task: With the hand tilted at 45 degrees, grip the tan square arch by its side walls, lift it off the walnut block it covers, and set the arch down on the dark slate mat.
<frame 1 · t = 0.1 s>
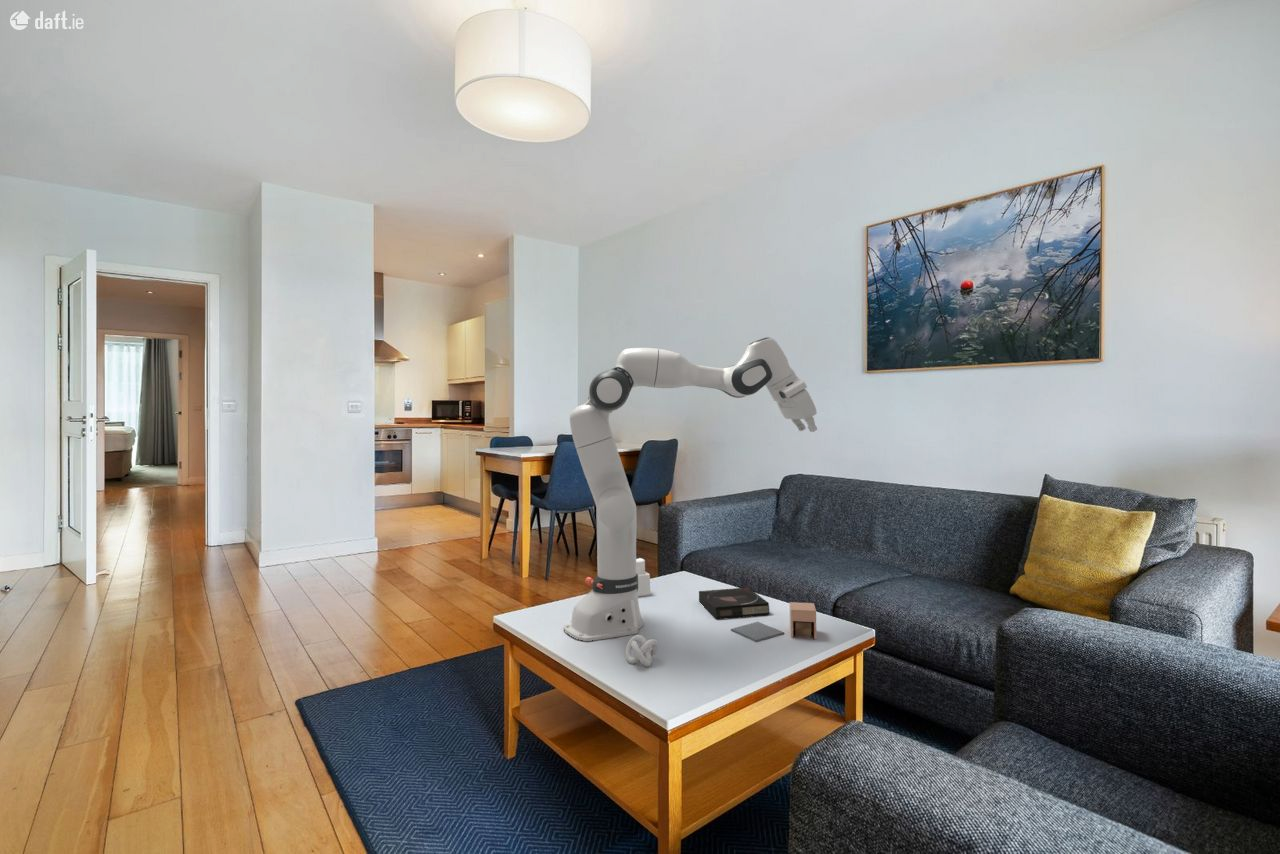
hand: (808, 430, 175), 54 cm above the table, tool tilted 30°, fingers open, 8 cm apart
white block with cylinder: (636, 594, 202), on the table
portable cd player: (733, 610, 185), on the table
slate mat: (757, 632, 165), on the table
walnut block: (802, 627, 163), in the tan square arch
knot: (643, 663, 146), on the table
tan square arch: (802, 634, 163), on the table
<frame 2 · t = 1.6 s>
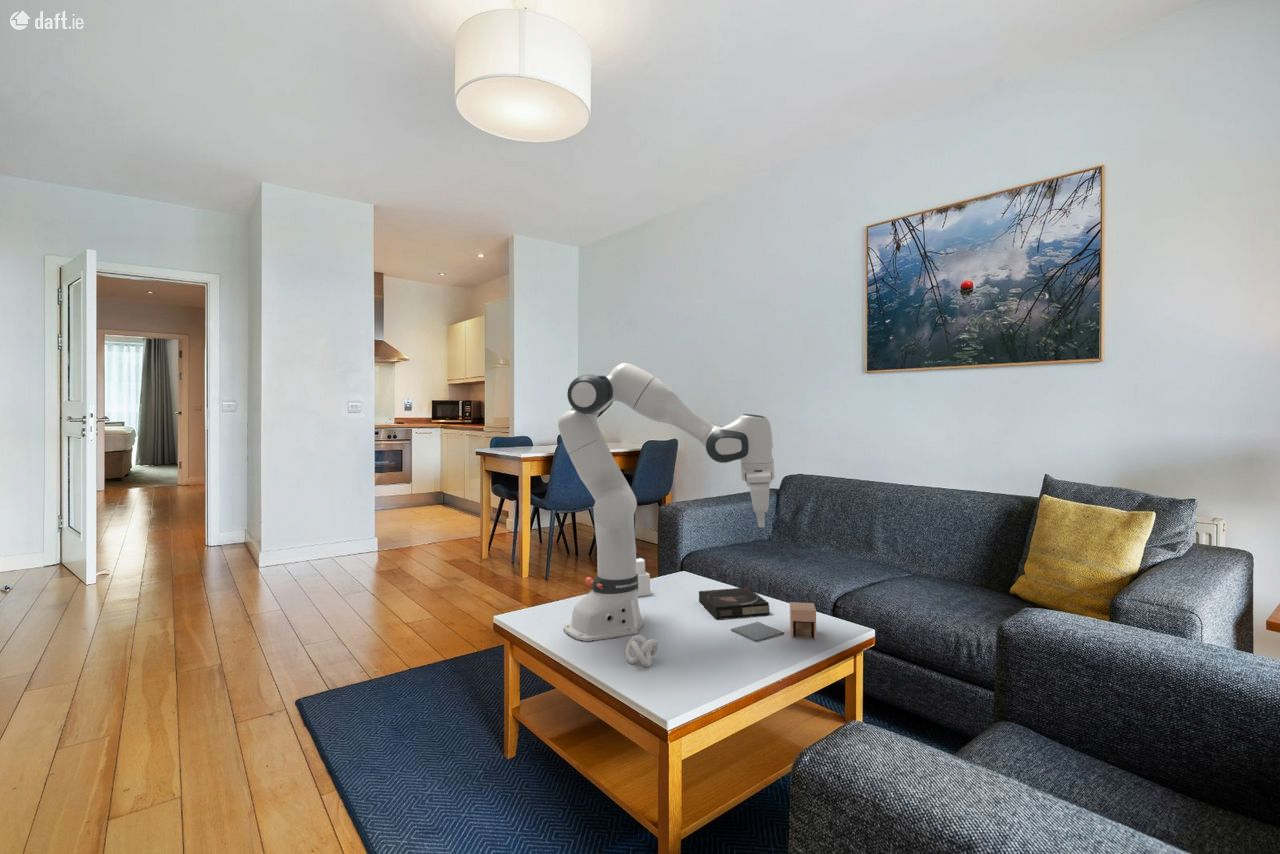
hand: (760, 523, 165), 29 cm above the table, tool pointing down, fingers open, 8 cm apart
nothing on the table moved.
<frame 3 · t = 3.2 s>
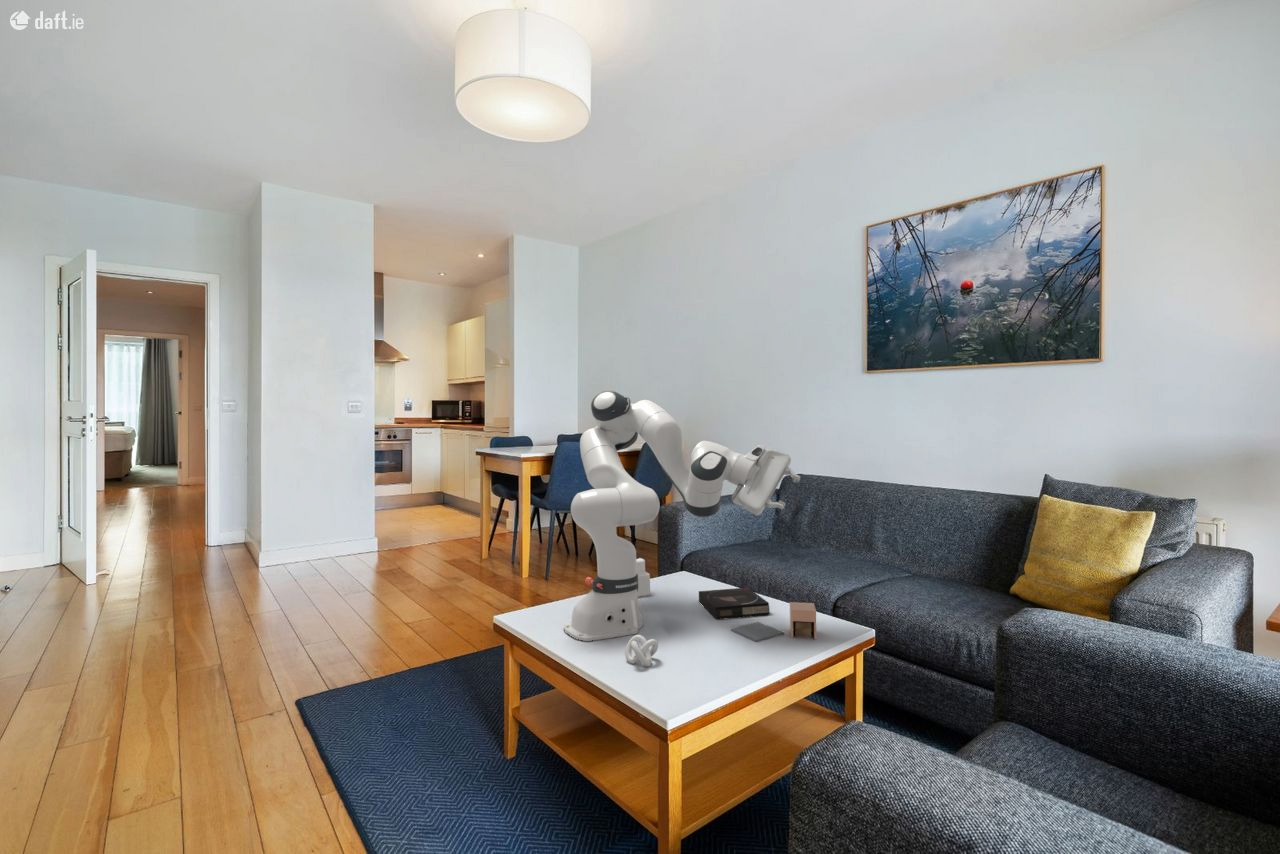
hand: (791, 493, 166), 38 cm above the table, tool tilted 70°, fingers open, 8 cm apart
nothing on the table moved.
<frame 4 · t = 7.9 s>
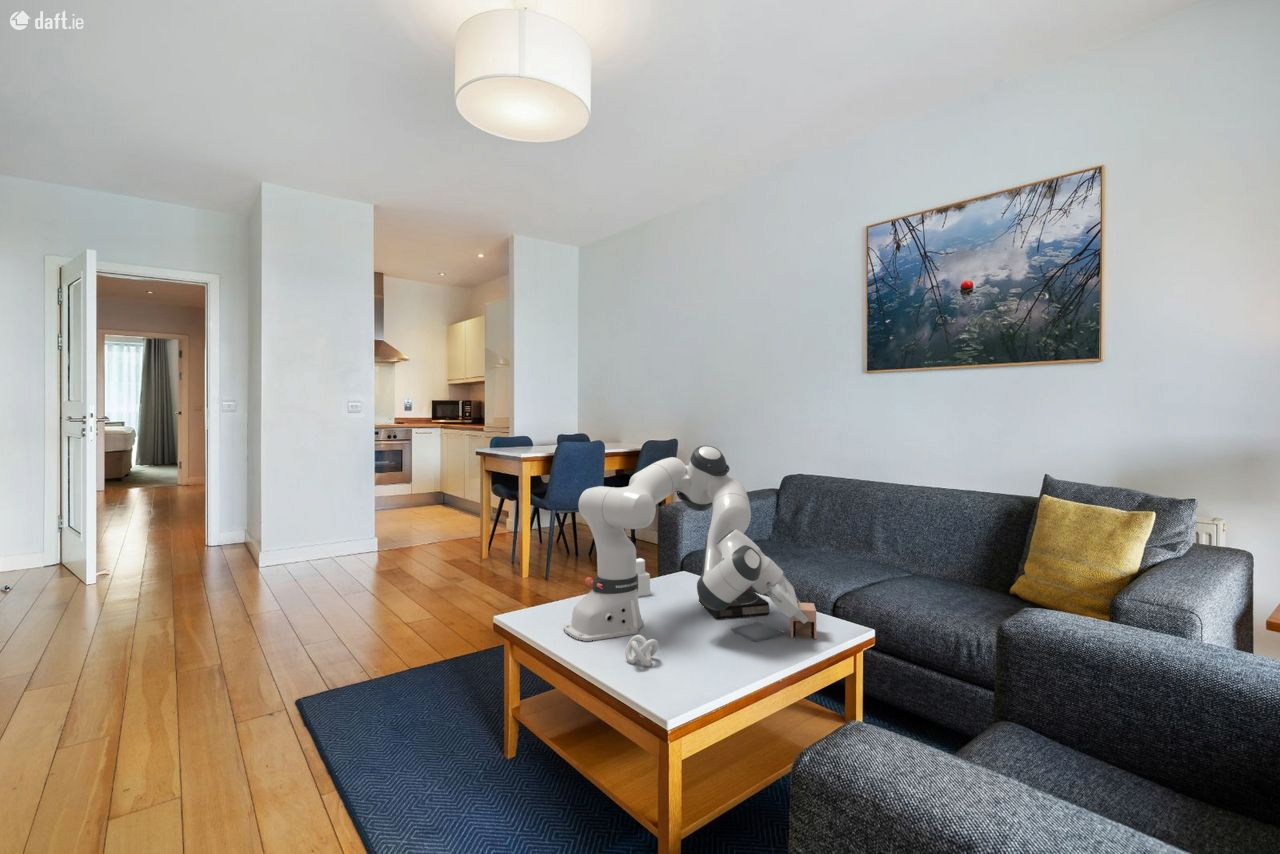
hand: (805, 616, 163), 5 cm above the table, tool tilted 45°, fingers closed on tan square arch, 6 cm apart
tan square arch: (802, 634, 163), on the table, touching gripper
everything else where it was.
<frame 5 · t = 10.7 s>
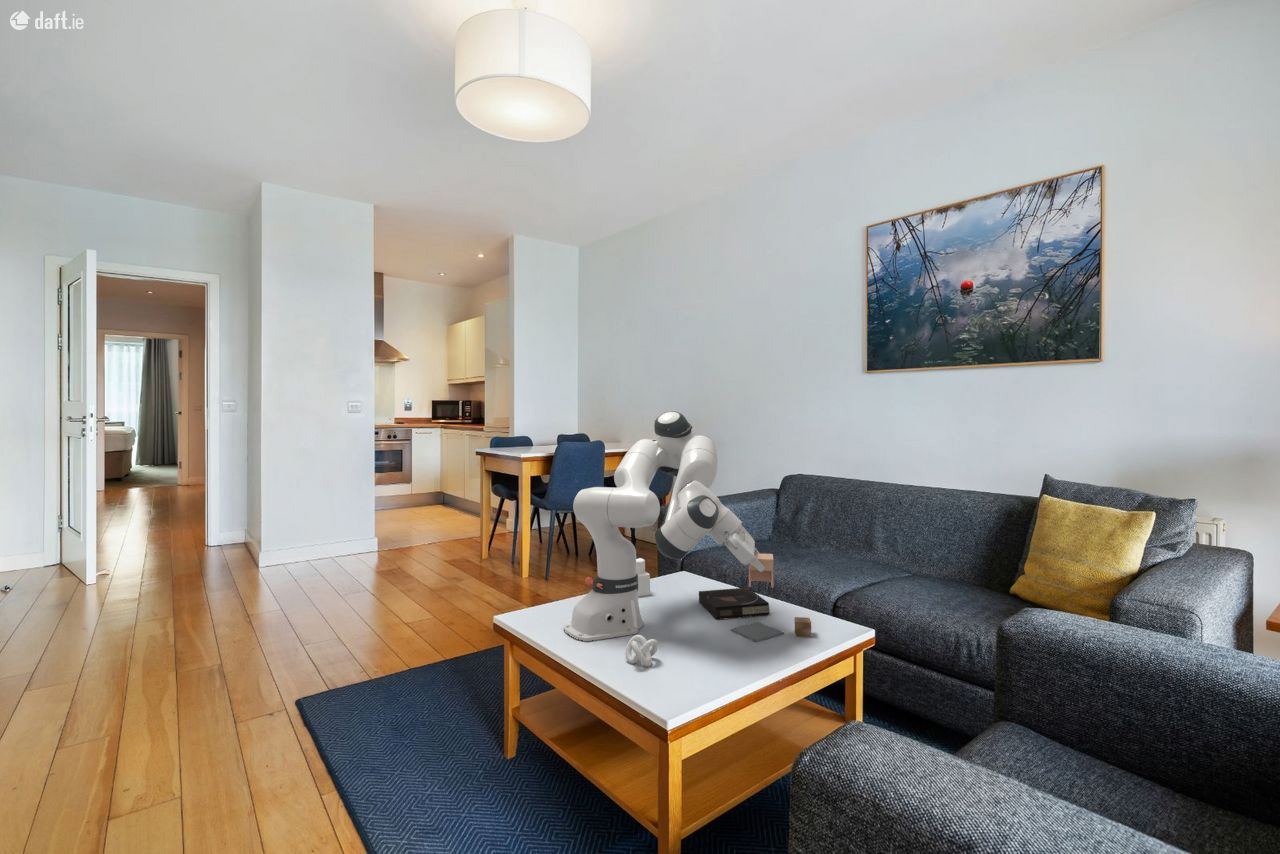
hand: (763, 566, 164), 18 cm above the table, tool tilted 45°, fingers closed on tan square arch, 6 cm apart
tan square arch: (761, 583, 164), point 13 cm above the table, touching gripper
everything else where it was.
when the fingers open (6 cm above the table, at t = 13.7 s): tan square arch stays where it is, resting on slate mat.
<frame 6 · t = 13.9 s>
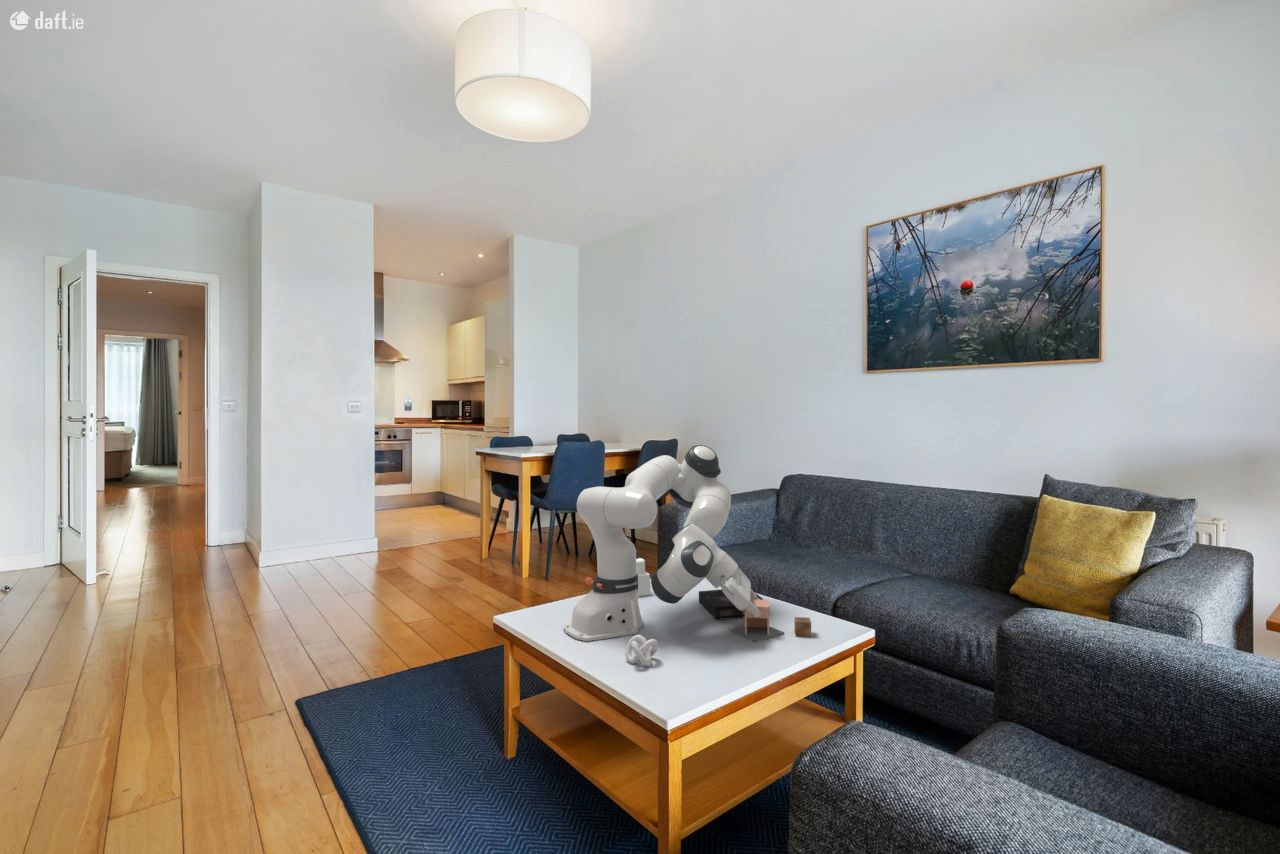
hand: (759, 609, 165), 6 cm above the table, tool tilted 45°, fingers open, 8 cm apart
tan square arch: (757, 630, 165), point 1 cm above the table, touching slate mat
everything else where it was.
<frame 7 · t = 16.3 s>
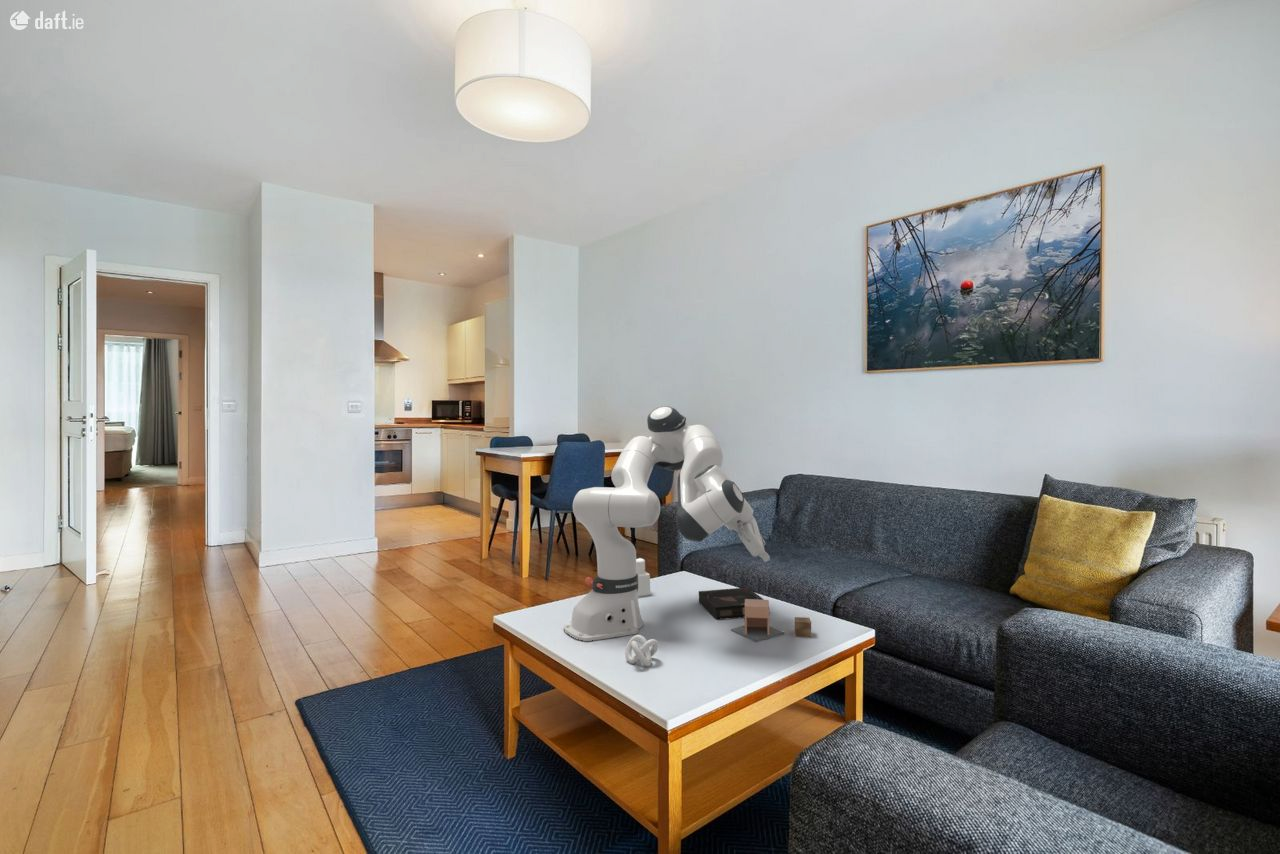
hand: (765, 552, 171), 20 cm above the table, tool tilted 35°, fingers open, 8 cm apart
nothing on the table moved.
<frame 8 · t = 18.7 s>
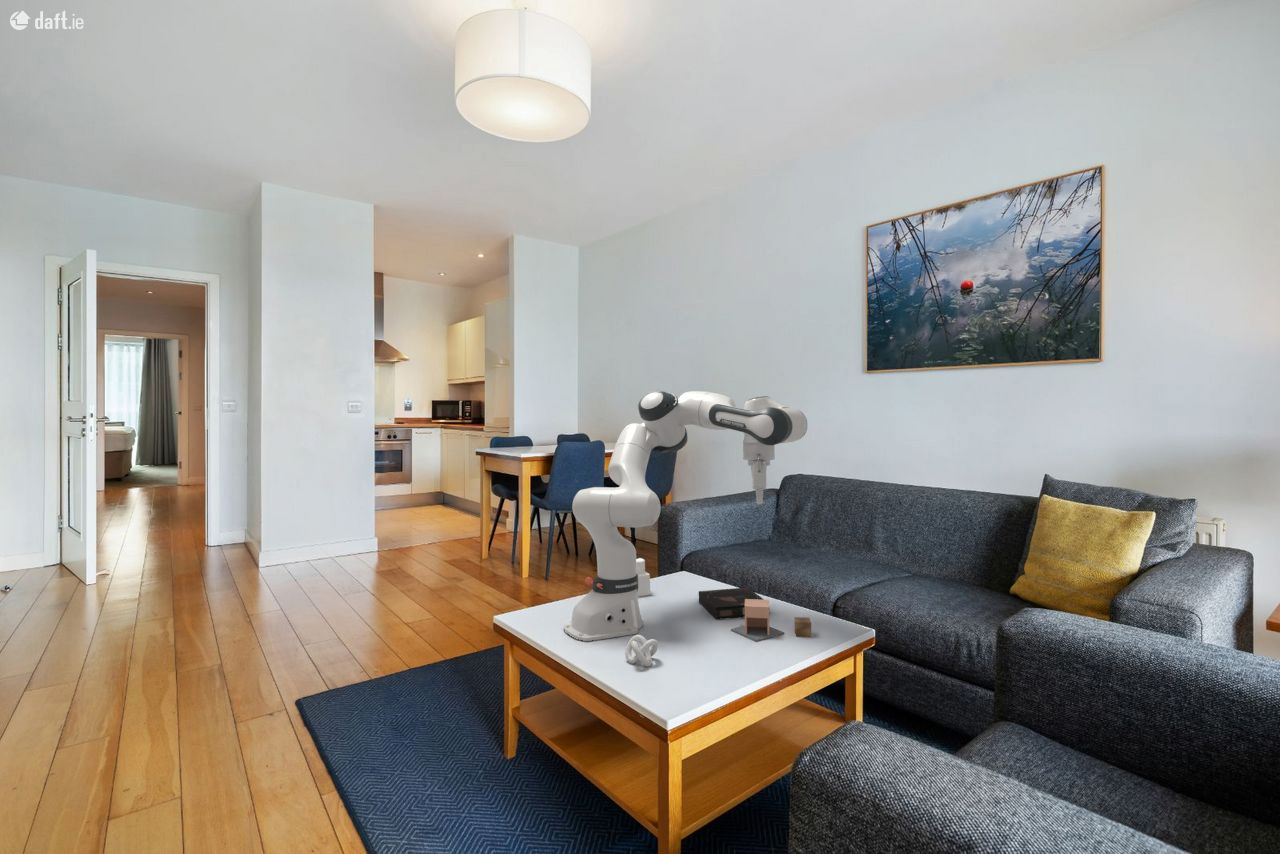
hand: (759, 501, 174), 34 cm above the table, tool pointing down, fingers open, 8 cm apart
nothing on the table moved.
at the end: tan square arch inside the target area on the slate mat (0.0 cm from its centre), point 0.5 cm above the slate mat's base; tan square arch tilted 0°; walnut block moved 0.1 cm from its start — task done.
